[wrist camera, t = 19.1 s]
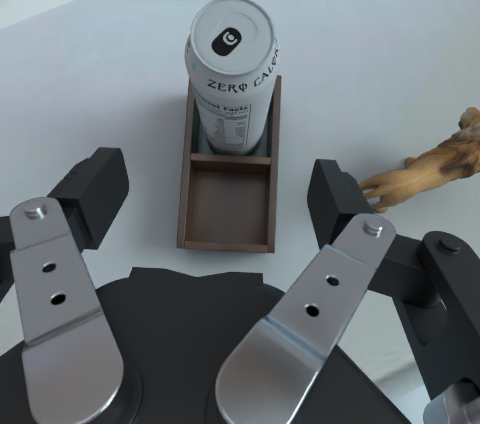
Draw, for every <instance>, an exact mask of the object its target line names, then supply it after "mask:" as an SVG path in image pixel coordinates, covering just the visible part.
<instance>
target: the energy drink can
mask: <svg viewBox="0 0 480 424" xmlns="http://www.w3.org/2000/svg"><path fill="white" fill-rule="evenodd" d="M280 57H281V52H280V46H279V42H278V40H277V37H276V35H275V33H274V27H273V24H272V21H271V19H270V17H269V16H268V14H267V13H266V12H265V10H264V9H263V8H262V7H261V6H259V5H258V4H256V3H255V2H253V1H251V0H213V1H211V2H209V3H208V4H206V5H205V6H204V7H203V8H201V10H200V11H199V12H198V13H197V15H196V16H195V18H194V20H193V23H192V26H191V31H190V35H189V37H188V39H187V43H186V46H185V63H186V67H187V71H188V75H189V78H190V82H191V85H192V89H193V93H194V96H195V100H196V103H197V107H198V110H199V114H200V118H201V121H202V125H203V128H204V132H205V136H206V139H207V142H208V143H209V145H210V146H211V148H212V149H213V150H214V151H216V152H217V153H218V154H220V155H235V156H246V155H247V154H249V153H251V152H252V151H253V150H254V149H255V148H256V147H257V146H258V144H259V142H260V140H261V137H262V133H263V129H264V125H265V121H266V117H267V113H268V109H269V105H270V101H271V97H272V93H273V89H274V85H275V81H276V77H277V73H278V69H279V65H280Z"/></svg>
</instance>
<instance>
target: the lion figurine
mask: <svg viewBox="0 0 480 424" xmlns="http://www.w3.org/2000/svg"><path fill="white" fill-rule="evenodd" d="M458 125H459V127H460V129H461V130H460V131H458V132H457V133H455V134H453V135H452V136H451V138H450V139H448V140H445V141H444V142H442V143H441V144H439V145H438V146H437V147H436V148H434V149H432V150H430V151H428V152H425V153H423V154H421V155H420V156H419V157H418V158H417V159H415V158H414V157H412V158H411V157H409V158H408V159H407V161H406V166H407V168H405V169H404V170H393V171H389V172H386V173H383V174H378V175H375V176H373V177H371V178H369V179H367V180H366V181H364V182H362V183H361V184H359V187H360V189H361V191H363V190H366V189H374V190H372V191H370V192H368V193H366V194H364V196H365V198H366V200H367V199H370V198H373V197H377V196H379V197H380V196H381V197H380V202H376V203H375V204H374V205H373V208H374V209H375V210H376V211H377V212H380V213H384V212H386V210H387V209H388V207H390V206H395V205H397V204H398V203H402V202H404V201H406V200H407V199H409V198H410V197H412V196H414V195H415V194H417V193H418V192H423V191H427V190H430V189H434V188H437V187H439V186H442V185H444V184H446V183H447V182H449V181H453V180H456V179H458V178H460V179H462V178H468V177H471V176H472V175H474V174H476V173H479V172H480V111H479V110H478V109H477V108H475V107H469V108H468V109H467V110H466V112H464V113H463V114H462V115H461V118H460V121H459V123H458Z"/></svg>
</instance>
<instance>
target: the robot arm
mask: <svg viewBox="0 0 480 424" xmlns="http://www.w3.org/2000/svg"><path fill="white" fill-rule="evenodd" d="M128 192H129V180H128V175H127V171H126V167H125V162H124V158H123V154H122V151H121V149H120V148H107V147H99V148H98V149H97V150H96V152H95V153H94V154H93V155H92V156H91V157H90V158H87V159H85V160H83V161H81V162H79V163H78V164H76V165H75V166H74V167H73V168H72V169H71V170H70V171H69V173H68V174H67V175H66V176H65V177H64V179H62V180H61V181H60V182H59V183H58V185H57V186H56V187H55V188H54V189H53V190H52V191H51V192H50V193H49V194H48V195H47V197H39V198H34V199H30V200H27V201H25V202H23V203H21V204H19V205H17V206H16V207H15V208H14V209H13V210H12V211H11V213H10V216H4V217H0V303H1V301H2V300H3V298H4V297H5V295H6V294H7V292H8V291H9V289H10V288H11V286H12V285H13V284H14V282H15V288H16V293H17V299H18V305H19V311H20V317H21V323H22V328H23V334H24V340H23V341H21V342H20V343H19V344H17V345H16V346H14V347H13V348H11V349H10V350H9V351H7V352H6V353H4V354H3V355H2V356H0V424H412V423H411V422H410V421H409V420H408V419H407V418H406V417H405V416H404V415H403V414H402V413H401V411H400V410H399V409H398V408H397V407H396V406H395V405H394V404H393V403H392V402H391V401H390V400H389V399H388V398H387V397H386V396H385V395H384V393H383V392H382V391H381V390H380V389H379V388H378V387H377V386H376V385H375V384H374V383H373V382H372V381H371V380H370V379H369V378H368V377H367V376H366V374H365V373H364V372H363V371H362V370H361V369H360V368H359V367H358V366H357V365H356V364H355V363H354V362H353V361H352V360H351V359H350V358H349V357H348V356H347V354H346V353H345V352H344V351H343V350H342V349H341V348H340V347H339V346H338V343H339V341H340V339H341V337H342V335H343V333H344V332H345V330H346V328H347V326H348V324H349V322H350V320H351V319H352V317H353V315H354V313H355V311H356V310H357V308H358V306H359V304H360V302H361V300H362V299H363V297H364V295H365V293H366V291H367V289H368V290H371V291H374V292H377V293H380V294H384V295H387V296H390V297H392V299H393V302H394V305H395V307H396V310H397V313H398V315H399V318H400V320H401V323H402V326H403V328H404V331H405V334H406V336H407V339H408V342H409V344H410V347H411V349H412V352H413V355H414V357H415V360H416V363H417V365H418V368H419V371H420V373H421V376H422V378H423V381H424V384H425V386H426V389H427V391H428V394H429V397H430V400H431V402H430V403H428V404H427V406H426V407H425V410H424V414H423V421H424V424H480V259H479V258H478V256H477V255H476V254H475V252H474V251H473V250H472V248H471V247H470V246H469V245H468V244H467V243H466V242H464V241H463V240H462V239H460V238H458V237H456V236H454V235H452V234H449V233H446V232H441V231H431V232H428V233H426V234H425V236H424V237H423V239H422V241H420V240H416V239H412V238H409V237H405V236H401V235H398V234H396V230H395V228H394V226H393V225H392V224H391V223H390V222H389V221H387V220H386V219H384V218H382V217H380V216H378V215H374V213H373V211H372V209H371V207H370V206H369V204H368V202H367V200H366V198H365V196H364V195H363V192H362V191H361V189H360V187H359V185H358V183H357V181H356V179H354V178H353V177H352V176H351V175H349V174H348V173H347V172H341V170H340V168H339V166H338V164H337V162H336V160H326V159H317V160H316V161H315V164H314V168H313V172H312V176H311V180H310V185H309V189H308V195H307V203H308V208H309V211H310V215H311V219H312V223H313V227H314V230H315V234H316V238H317V242H318V246H319V249H320V251H319V253H318V254H317V255H316V256H315V258H314V259H313V260H312V261H311V262H310V264H309V265H308V266H307V267H306V269H305V270H304V271H303V272H302V274H301V275H300V276H299V277H298V278H297V280H296V281H295V282H294V283H293V285H292V286H291V287H290V288H289V290H288V291H287V292H286V293H285V292H283V291H281V290H279V289H278V288H276V287H273V286H270V285H268V284H264V283H263V273H245V272H227V273H221V274H214V275H208V276H202V277H194V276H190V275H186V274H183V273H179V272H175V271H172V270H168V269H161V268H140V267H133V268H132V271H131V273H130V276H129V277H128V278H123V279H119V280H116V281H113V282H110V283H108V284H106V285H103V286H101V287H99V288H98V289H95V286H94V284H93V282H92V279H91V277H90V274H89V272H88V269H87V267H86V265H85V262H84V260H83V257H82V255H81V254H82V252H83V250H84V249H93V250H97V249H98V248H99V246H100V244H101V242H102V240H103V239H104V237H105V235H106V233H107V231H108V229H109V228H110V226H111V224H112V222H113V220H114V219H115V217H116V215H117V213H118V211H119V210H120V208H121V206H122V204H123V202H124V200H125V199H126V197H127V195H128ZM441 299H442V301H443V303H444V305H445V307H446V309H445V307H444V305H443V303H442V301H441ZM446 310H447V311H446Z"/></svg>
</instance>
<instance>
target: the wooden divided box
mask: <svg viewBox="0 0 480 424" xmlns="http://www.w3.org/2000/svg"><path fill="white" fill-rule="evenodd" d="M280 99H281V75H277V77H276V81H275V85H274V89H273V93H272V97H271V101H270V105H269V109H268V113H267V117H266V121H265V125H264V129H263V133H262V137H261V140H260V142H259V144H258V146H257V147H256V148H255V149H254V150H253V151H252V152H251V153H249V154H247V155H246V156H235V155H220V154H218V153H217V152H216V151H214V150H213V149H212V148H211V146H210V145H209V143H208V142H207V139H206V136H205V132H204V128H203V125H202V121H201V118H200V114H199V110H198V107H197V103H196V100H195V96H194V93H193V89H192V85H191V82H190V78H189V86H188V100H187V113H186V126H185V140H184V153H183V166H182V180H181V193H180V207H179V220H178V233H177V248H182V249H184V248H185V249H201V250H220V251H240V252H259V253H275V228H276V203H277V177H278V151H279V125H280Z"/></svg>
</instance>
